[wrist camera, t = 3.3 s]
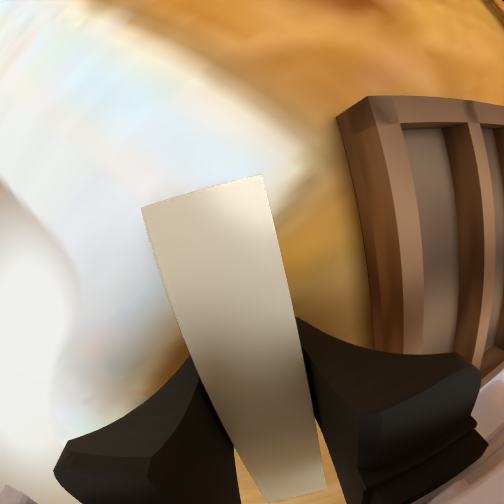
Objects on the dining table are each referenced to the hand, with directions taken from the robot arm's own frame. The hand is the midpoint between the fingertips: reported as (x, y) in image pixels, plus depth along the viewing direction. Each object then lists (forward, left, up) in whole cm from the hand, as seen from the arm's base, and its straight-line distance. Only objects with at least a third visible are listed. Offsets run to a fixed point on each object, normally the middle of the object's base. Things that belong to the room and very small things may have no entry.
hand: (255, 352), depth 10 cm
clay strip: (0, 0, -1) cm, 1 cm away
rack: (0, -11, -1) cm, 11 cm away
